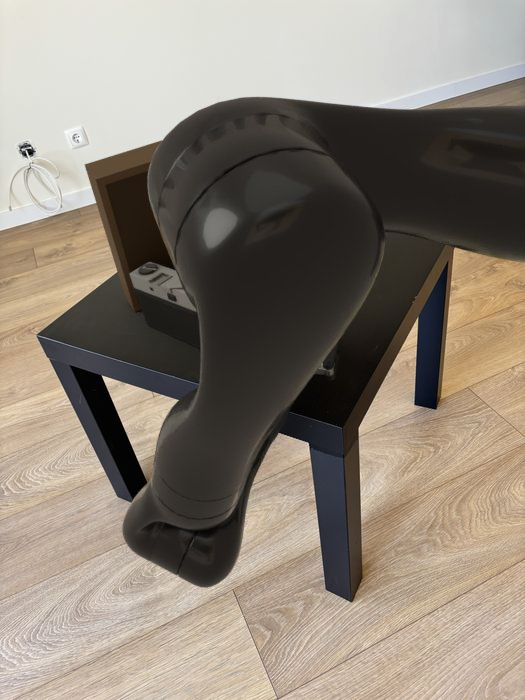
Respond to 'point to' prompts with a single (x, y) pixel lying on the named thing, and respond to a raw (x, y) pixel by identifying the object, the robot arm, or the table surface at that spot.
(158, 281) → the camera
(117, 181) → the photo frame
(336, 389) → the table surface
